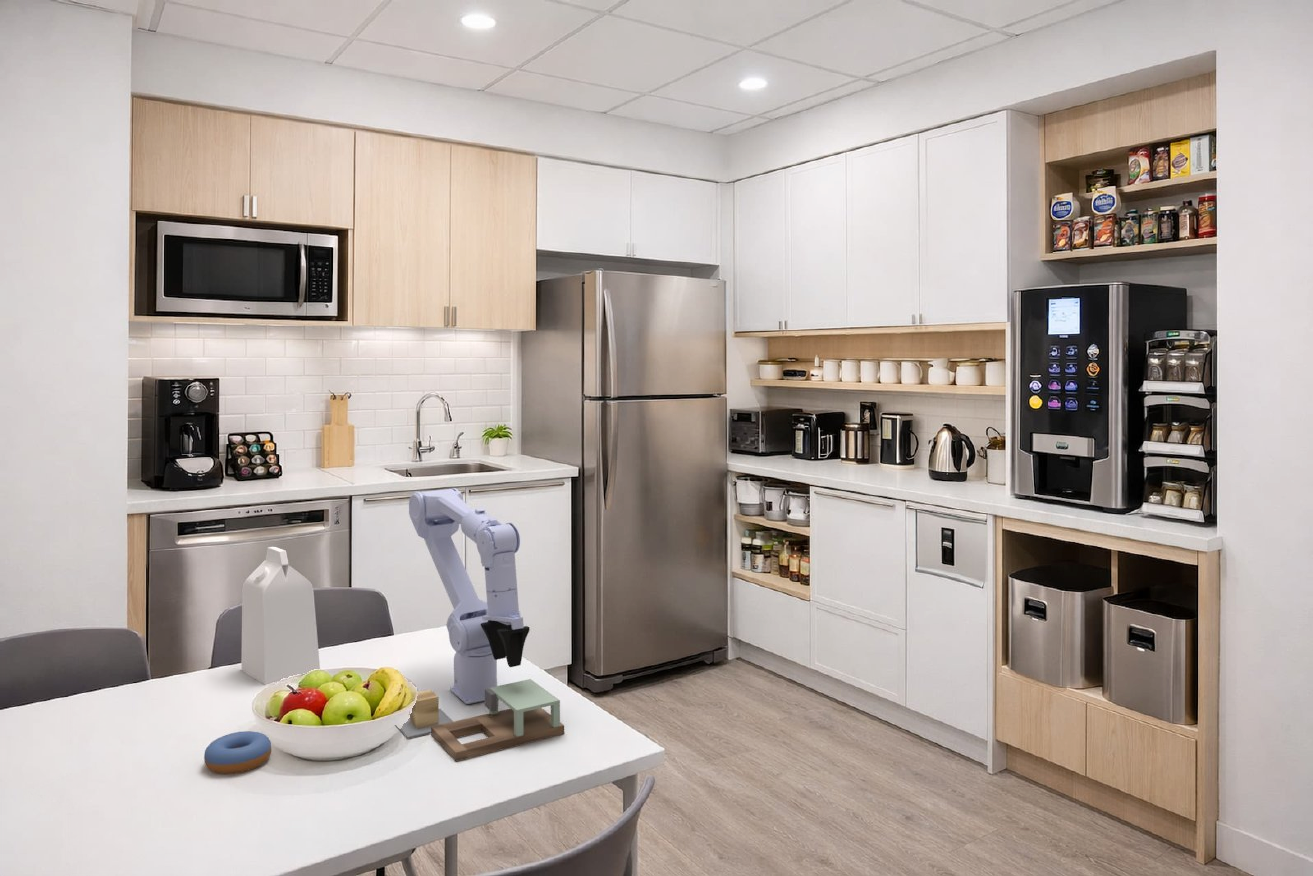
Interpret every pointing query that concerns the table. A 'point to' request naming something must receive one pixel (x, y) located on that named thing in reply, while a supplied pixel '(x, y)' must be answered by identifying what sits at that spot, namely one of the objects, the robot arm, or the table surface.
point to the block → (425, 710)
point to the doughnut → (237, 752)
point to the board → (494, 732)
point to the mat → (412, 731)
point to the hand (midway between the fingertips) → (507, 662)
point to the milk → (278, 621)
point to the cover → (522, 701)
